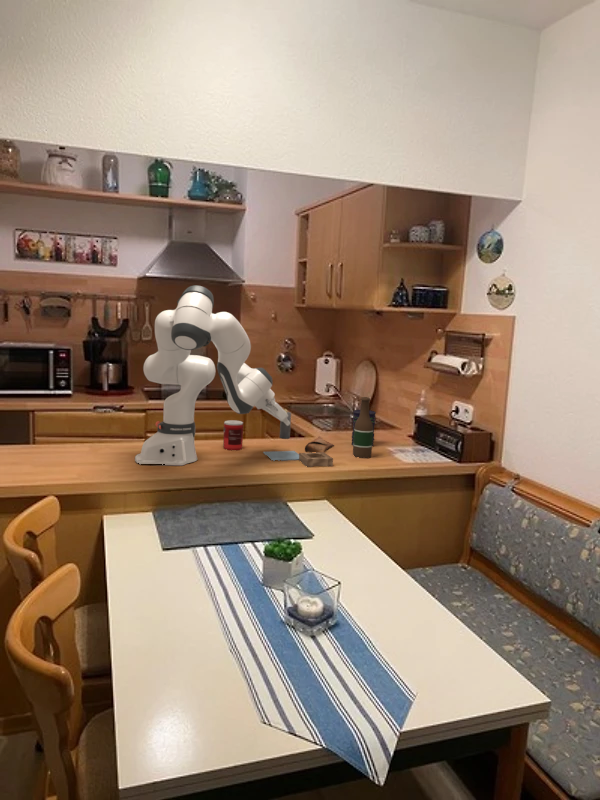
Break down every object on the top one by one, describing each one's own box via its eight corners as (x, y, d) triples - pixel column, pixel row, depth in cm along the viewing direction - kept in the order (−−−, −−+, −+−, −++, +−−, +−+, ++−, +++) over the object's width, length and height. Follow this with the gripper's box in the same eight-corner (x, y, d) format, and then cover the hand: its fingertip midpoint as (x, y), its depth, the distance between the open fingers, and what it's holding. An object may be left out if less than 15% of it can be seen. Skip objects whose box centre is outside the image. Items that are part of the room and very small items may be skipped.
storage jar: (377, 447, 266) (379, 413, 264) (357, 447, 262) (359, 413, 260) (367, 442, 275) (369, 409, 273) (347, 442, 272) (349, 409, 269)
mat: (271, 460, 232) (271, 459, 232) (263, 452, 245) (263, 451, 244) (304, 459, 236) (304, 458, 236) (294, 452, 249) (294, 450, 248)
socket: (307, 467, 225) (307, 459, 225) (298, 460, 235) (299, 452, 234) (332, 466, 228) (333, 458, 228) (323, 459, 238) (323, 452, 237)
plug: (281, 439, 236) (282, 410, 235) (278, 436, 240) (279, 408, 239) (291, 438, 238) (292, 410, 236) (288, 436, 241) (289, 408, 240)
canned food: (231, 445, 255) (232, 419, 254) (246, 448, 251) (247, 422, 249) (219, 448, 249) (219, 421, 247) (233, 451, 244) (234, 424, 243)
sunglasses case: (324, 453, 248) (317, 439, 248) (309, 460, 250) (302, 446, 250) (335, 445, 265) (328, 431, 265) (321, 452, 267) (314, 438, 267)
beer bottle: (368, 459, 242) (372, 399, 239) (350, 457, 245) (353, 397, 241) (373, 455, 249) (377, 397, 246) (355, 453, 252) (358, 395, 249)
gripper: (276, 396, 225) (300, 422, 229) (263, 389, 244) (285, 413, 248) (264, 408, 224) (288, 434, 228) (251, 400, 243) (274, 424, 247)
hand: (286, 423), depth 238 cm, fingers closed on plug, 4 cm apart
